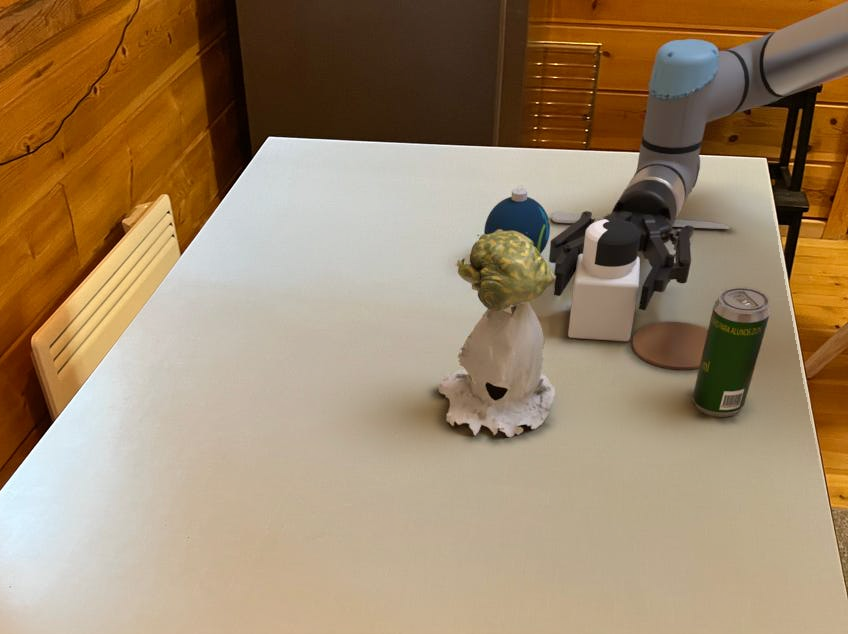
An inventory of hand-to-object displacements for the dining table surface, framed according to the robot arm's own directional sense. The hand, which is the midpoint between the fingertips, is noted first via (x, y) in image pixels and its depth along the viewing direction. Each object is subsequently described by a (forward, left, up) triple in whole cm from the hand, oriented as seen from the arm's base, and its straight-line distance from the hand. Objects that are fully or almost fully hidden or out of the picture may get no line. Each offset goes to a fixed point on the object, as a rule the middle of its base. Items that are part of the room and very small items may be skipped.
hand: (600, 291), depth 107 cm
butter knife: (-14, -30, -7) cm, 34 cm away
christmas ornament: (+5, -22, -7) cm, 23 cm away
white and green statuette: (+14, +10, -7) cm, 18 cm away
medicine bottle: (-2, -4, -7) cm, 8 cm away
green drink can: (-10, +14, -7) cm, 19 cm away
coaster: (-9, +2, -7) cm, 12 cm away
